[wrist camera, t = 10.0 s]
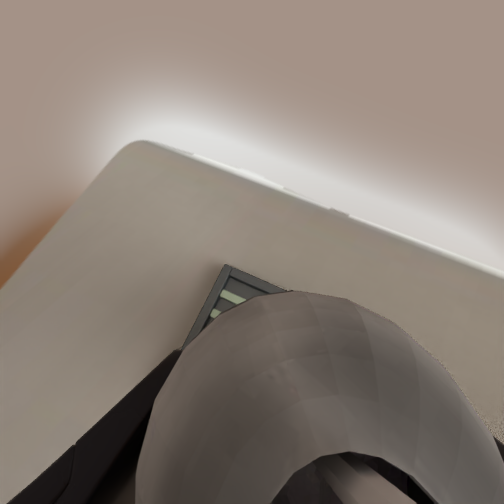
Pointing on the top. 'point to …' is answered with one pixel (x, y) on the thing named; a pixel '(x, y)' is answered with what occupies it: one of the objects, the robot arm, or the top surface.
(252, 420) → the beverage cup
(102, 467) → the robot arm
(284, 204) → the top surface
